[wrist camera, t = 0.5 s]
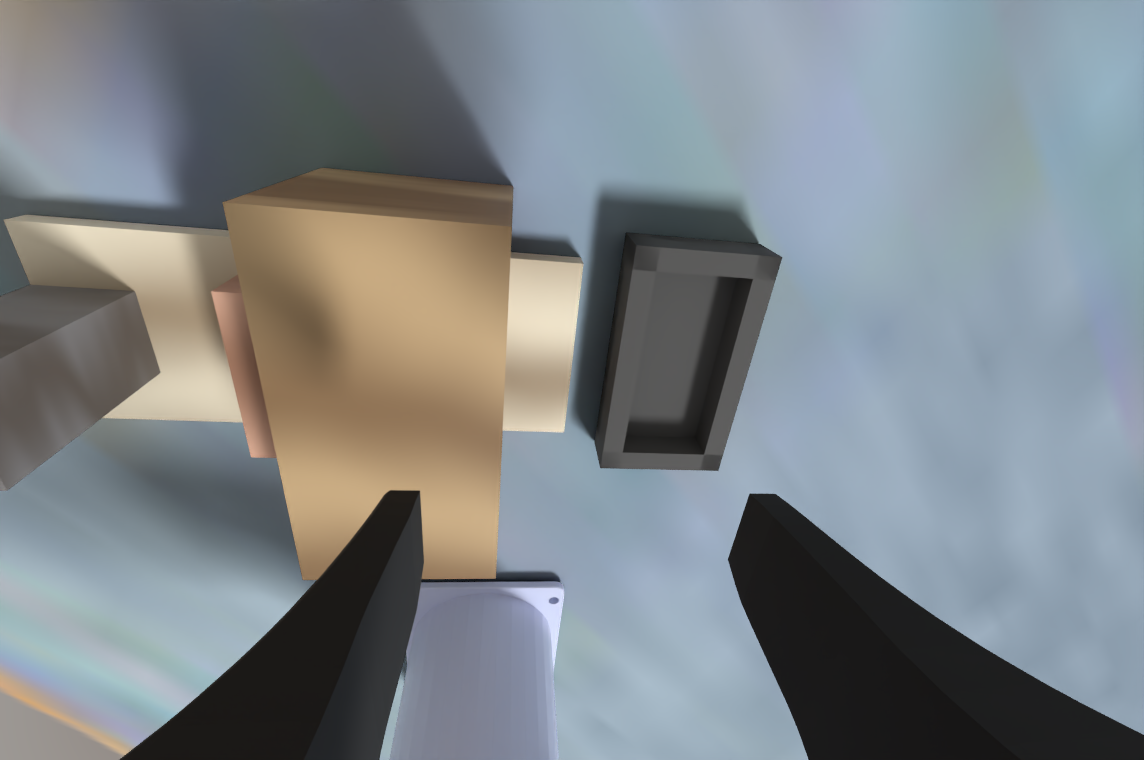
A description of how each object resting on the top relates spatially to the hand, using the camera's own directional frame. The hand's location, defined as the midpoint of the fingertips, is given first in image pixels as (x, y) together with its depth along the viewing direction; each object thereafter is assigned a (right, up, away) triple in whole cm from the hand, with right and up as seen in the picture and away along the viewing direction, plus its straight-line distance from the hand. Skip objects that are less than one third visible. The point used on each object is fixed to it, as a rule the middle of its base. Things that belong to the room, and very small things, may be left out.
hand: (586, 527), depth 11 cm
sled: (-9, +5, +8) cm, 13 cm away
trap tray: (+4, +4, +9) cm, 11 cm away
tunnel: (-6, +5, +8) cm, 11 cm away
